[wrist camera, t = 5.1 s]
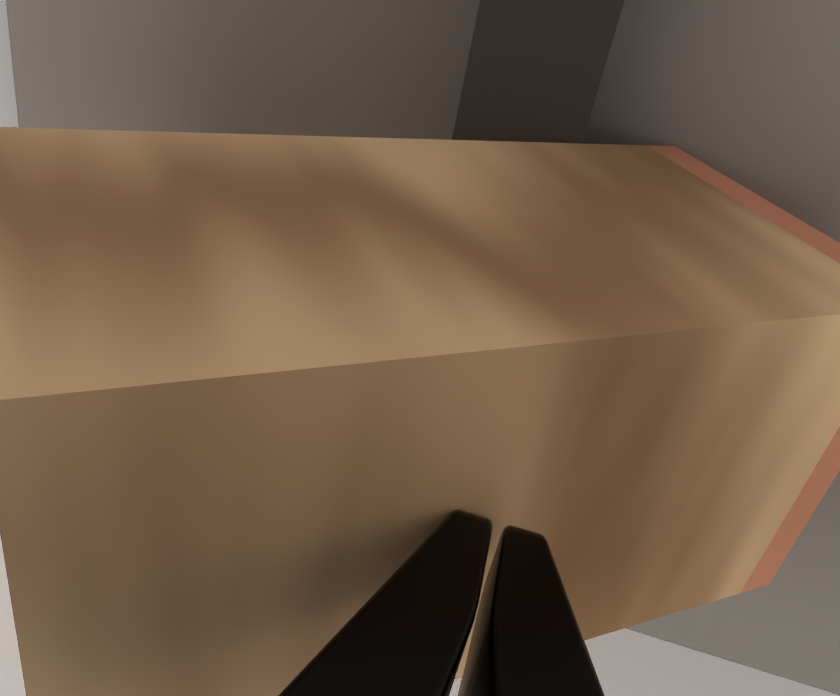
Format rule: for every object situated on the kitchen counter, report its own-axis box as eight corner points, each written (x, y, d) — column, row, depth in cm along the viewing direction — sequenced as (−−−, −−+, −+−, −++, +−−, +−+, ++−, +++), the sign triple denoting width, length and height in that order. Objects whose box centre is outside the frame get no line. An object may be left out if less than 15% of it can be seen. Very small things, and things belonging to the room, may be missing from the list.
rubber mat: (1672, -208, 9) (1899, -228, 8) (899, 696, 19) (924, 776, 17) (-22, -505, 12) (-134, -570, 10) (63, 437, 21) (13, 485, 20)
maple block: (942, 303, 9) (-20, 400, 5) (768, 585, 12) (43, 802, 8) (675, 146, 13) (-17, 127, 9) (587, 388, 16) (25, 464, 11)
